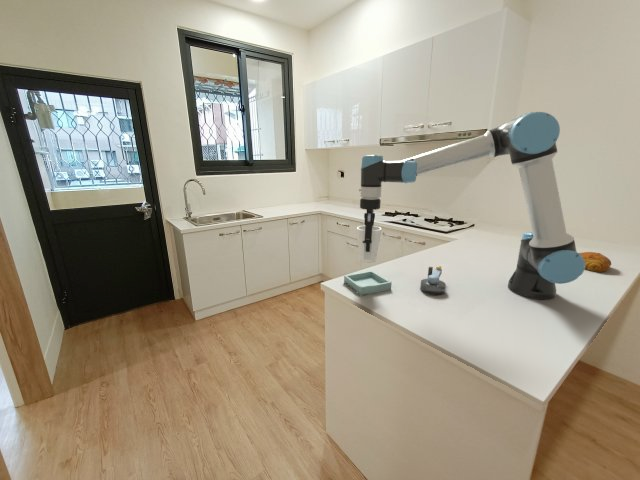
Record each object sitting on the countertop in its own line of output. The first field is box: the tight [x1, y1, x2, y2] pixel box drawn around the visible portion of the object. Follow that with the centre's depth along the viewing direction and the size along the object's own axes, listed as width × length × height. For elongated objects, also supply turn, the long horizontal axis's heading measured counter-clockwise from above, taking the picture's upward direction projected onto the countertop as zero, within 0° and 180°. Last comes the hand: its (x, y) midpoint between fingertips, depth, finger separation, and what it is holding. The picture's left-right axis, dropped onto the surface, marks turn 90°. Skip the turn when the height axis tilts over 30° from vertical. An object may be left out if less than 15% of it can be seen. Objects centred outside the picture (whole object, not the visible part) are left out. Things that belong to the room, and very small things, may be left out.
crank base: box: [420, 266, 446, 296], centre depth 115 cm, size 12×10×6 cm
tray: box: [343, 270, 392, 297], centre depth 119 cm, size 14×14×3 cm
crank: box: [427, 265, 443, 284], centre depth 117 cm, size 13×4×3 cm, turn 149°
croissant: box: [578, 251, 612, 273], centre depth 139 cm, size 14×16×8 cm
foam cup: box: [356, 225, 382, 264], centre depth 115 cm, size 10×9×13 cm
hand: (367, 255), depth 116 cm, fingers closed on foam cup, 9 cm apart
